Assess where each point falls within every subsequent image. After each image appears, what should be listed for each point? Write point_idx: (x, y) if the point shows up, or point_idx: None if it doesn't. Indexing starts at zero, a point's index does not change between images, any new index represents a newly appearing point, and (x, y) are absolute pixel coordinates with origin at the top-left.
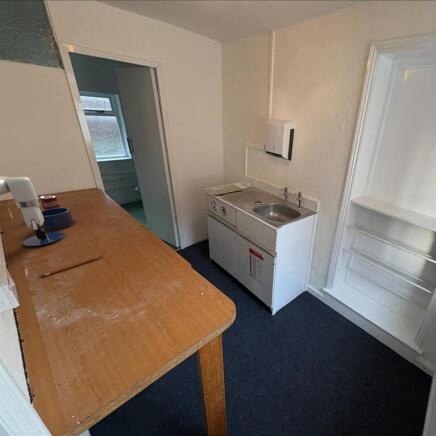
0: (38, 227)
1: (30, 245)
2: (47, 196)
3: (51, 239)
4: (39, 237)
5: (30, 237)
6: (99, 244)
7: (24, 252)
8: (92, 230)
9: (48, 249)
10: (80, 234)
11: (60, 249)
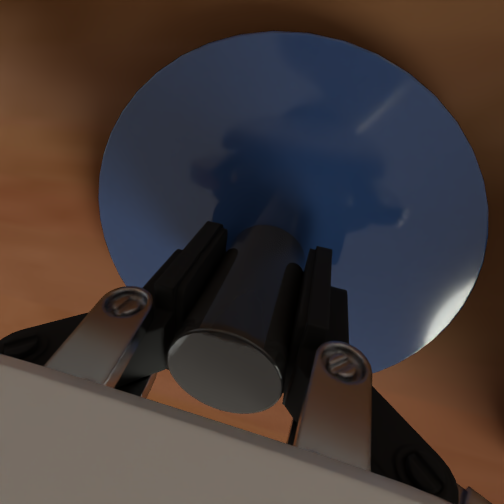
0: (305, 385)
1: (119, 121)
2: None
3: None
4: (177, 251)
5: (464, 140)
6: None
7: (34, 44)
8: None
9: (33, 227)
10: (219, 415)
11: (8, 280)
